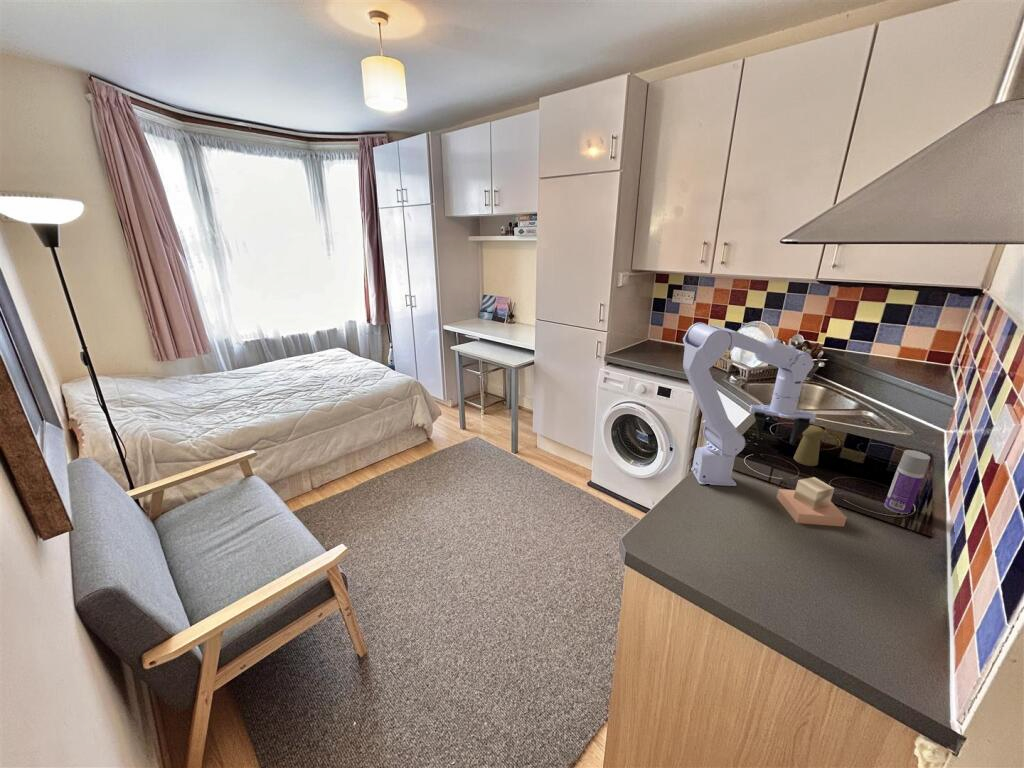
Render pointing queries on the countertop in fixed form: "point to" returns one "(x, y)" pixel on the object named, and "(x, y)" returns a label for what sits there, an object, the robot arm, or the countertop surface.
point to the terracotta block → (810, 511)
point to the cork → (809, 446)
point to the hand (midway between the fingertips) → (775, 440)
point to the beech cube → (813, 493)
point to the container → (907, 481)
